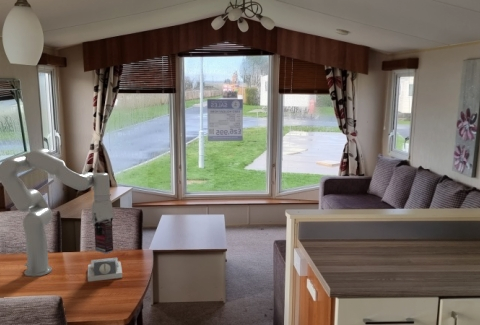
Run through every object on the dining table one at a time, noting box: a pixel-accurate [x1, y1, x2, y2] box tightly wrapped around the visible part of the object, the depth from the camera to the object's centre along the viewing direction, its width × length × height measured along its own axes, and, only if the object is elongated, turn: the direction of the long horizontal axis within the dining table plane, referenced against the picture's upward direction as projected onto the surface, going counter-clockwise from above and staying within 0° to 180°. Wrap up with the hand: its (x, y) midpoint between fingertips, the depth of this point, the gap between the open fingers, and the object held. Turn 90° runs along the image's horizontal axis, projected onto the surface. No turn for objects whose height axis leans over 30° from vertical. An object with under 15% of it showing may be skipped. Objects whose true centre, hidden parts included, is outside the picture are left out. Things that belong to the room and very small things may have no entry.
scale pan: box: [90, 257, 119, 270], centre depth 220 cm, size 11×13×1 cm
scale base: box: [87, 260, 123, 282], centre depth 218 cm, size 16×16×8 cm
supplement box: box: [93, 220, 114, 255], centre depth 218 cm, size 9×5×16 cm, turn 55°
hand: (103, 233), depth 218 cm, fingers closed on supplement box, 5 cm apart
